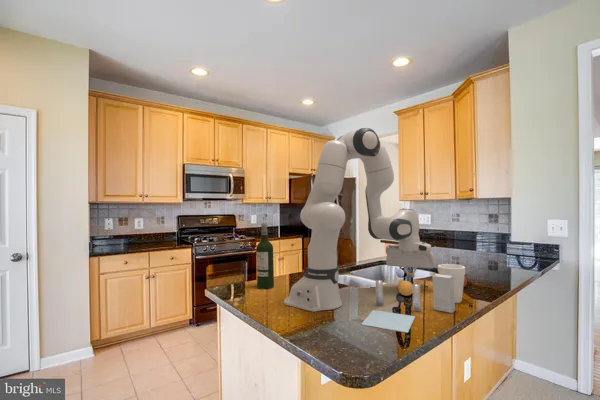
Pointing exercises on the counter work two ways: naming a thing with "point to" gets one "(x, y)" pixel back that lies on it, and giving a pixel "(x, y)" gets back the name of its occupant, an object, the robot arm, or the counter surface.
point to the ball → (405, 288)
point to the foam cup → (454, 278)
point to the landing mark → (389, 321)
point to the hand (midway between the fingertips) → (410, 277)
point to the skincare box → (443, 293)
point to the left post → (379, 292)
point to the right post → (416, 297)
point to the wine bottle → (265, 261)
